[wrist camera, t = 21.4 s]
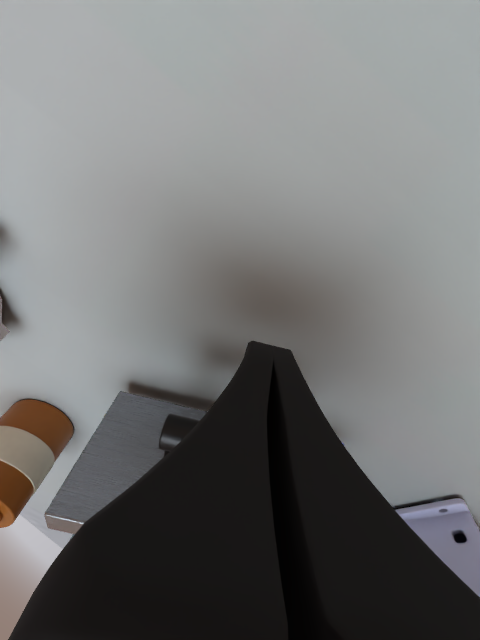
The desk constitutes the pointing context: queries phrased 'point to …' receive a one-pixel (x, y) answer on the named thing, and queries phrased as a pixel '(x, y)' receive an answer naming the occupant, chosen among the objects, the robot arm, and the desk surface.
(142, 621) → the robot arm
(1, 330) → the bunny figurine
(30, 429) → the bottle
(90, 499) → the drawer
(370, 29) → the desk surface
